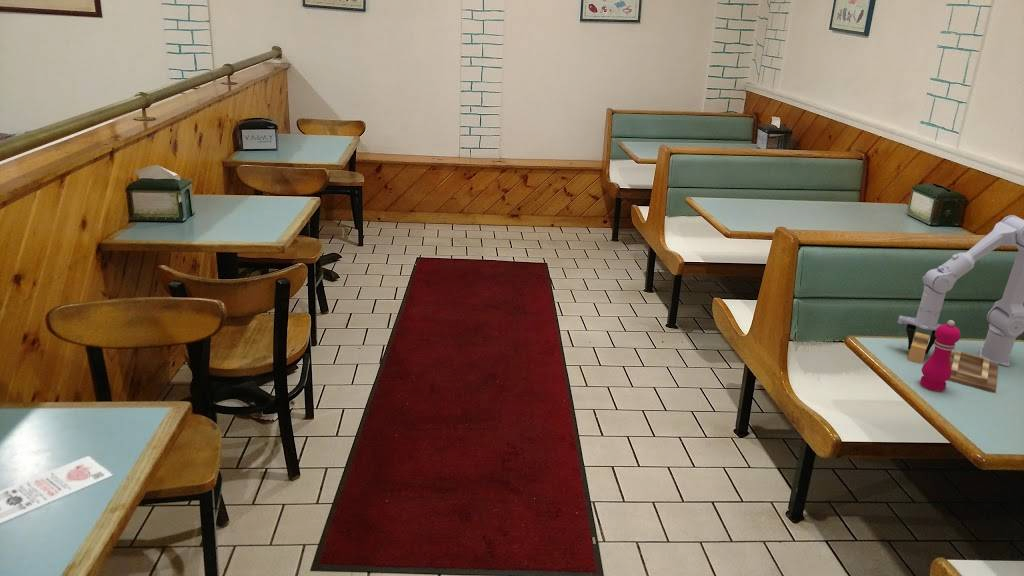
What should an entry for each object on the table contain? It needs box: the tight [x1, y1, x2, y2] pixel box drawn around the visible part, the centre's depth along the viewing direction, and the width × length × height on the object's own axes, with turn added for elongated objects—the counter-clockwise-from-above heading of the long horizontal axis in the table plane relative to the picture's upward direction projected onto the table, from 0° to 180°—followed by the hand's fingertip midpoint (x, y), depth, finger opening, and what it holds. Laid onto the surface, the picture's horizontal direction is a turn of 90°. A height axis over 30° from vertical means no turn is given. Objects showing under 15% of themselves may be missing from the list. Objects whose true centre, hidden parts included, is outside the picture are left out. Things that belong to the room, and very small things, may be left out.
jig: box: [948, 350, 999, 394], centre depth 220 cm, size 20×14×2 cm
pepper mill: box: [919, 319, 961, 392], centre depth 208 cm, size 7×7×20 cm
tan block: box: [906, 331, 931, 364], centre depth 229 cm, size 12×4×5 cm, turn 148°
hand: (917, 350), depth 230 cm, fingers closed on tan block, 4 cm apart
